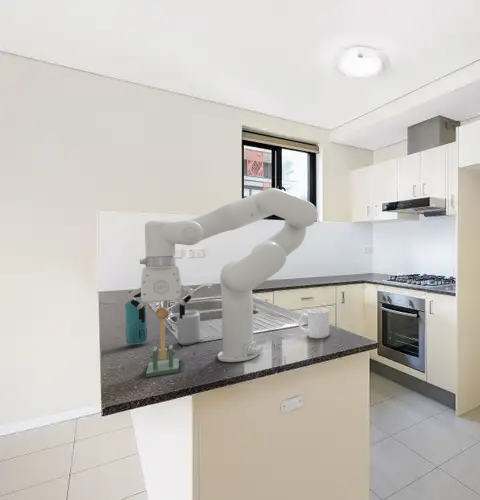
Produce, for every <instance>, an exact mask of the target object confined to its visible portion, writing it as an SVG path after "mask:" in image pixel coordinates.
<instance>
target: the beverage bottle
mask: <svg viewBox="0 0 480 500" xmlns="http://www.w3.org/2000/svg"><path fill="white" fill-rule="evenodd" d="M133 291H134V290H132V291H128V294H129V293H131V292H133ZM134 298H135V299H136V298H141V293H139V294H137V295H135V296H134ZM136 300H137V301H138V302H139V303H141V301H142V299H136ZM146 307H147V306H146V304H145V305H144V308H145V319H146V320H145V322H144V323H142V320H139V309H137V307H135V306H134V305H132V304H131V302H130V301H129V300H128V301H127V302H126V303H125V304H124V309H125V327H124V328H125V341H126V343H127V344H129V345H135V344H141V343H145V342H146V341H147V340H148V328H147V309H146Z"/></svg>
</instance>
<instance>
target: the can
mask: <svg viewBox="0 0 480 500" xmlns="http://www.w3.org/2000/svg"><path fill="white" fill-rule="evenodd" d="M178 312H179V314H178V315H177V316H176V319H177V321H176V322H177V323H176V324H177V343H179V344H180V345H181V346H190V345H191V346H192V345H194V344H198V343H199V341H200V340H201V314H200V313H199V310H198V309H185V315H182V319H180V311H178Z"/></svg>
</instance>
